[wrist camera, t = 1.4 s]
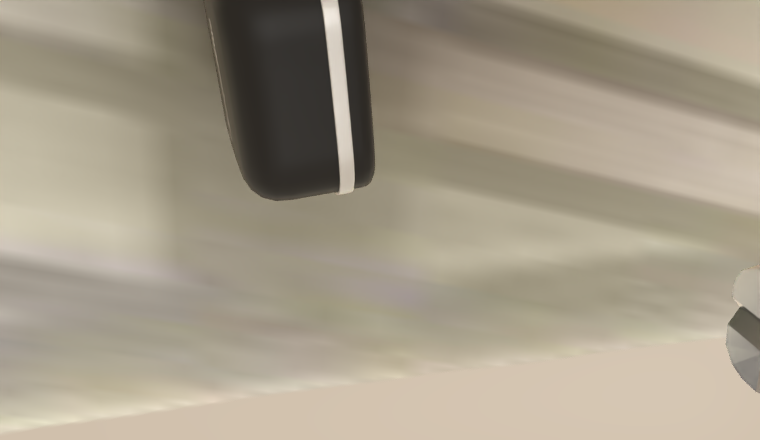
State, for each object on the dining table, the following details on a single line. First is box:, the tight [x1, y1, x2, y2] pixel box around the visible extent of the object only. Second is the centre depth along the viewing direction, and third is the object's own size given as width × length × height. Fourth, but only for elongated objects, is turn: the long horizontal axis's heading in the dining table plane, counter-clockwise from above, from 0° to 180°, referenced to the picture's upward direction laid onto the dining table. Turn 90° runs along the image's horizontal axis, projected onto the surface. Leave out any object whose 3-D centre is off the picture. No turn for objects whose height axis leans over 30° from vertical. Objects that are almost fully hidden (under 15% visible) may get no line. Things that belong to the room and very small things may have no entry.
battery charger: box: [203, 0, 375, 201], centre depth 23 cm, size 7×4×11 cm, turn 4°
